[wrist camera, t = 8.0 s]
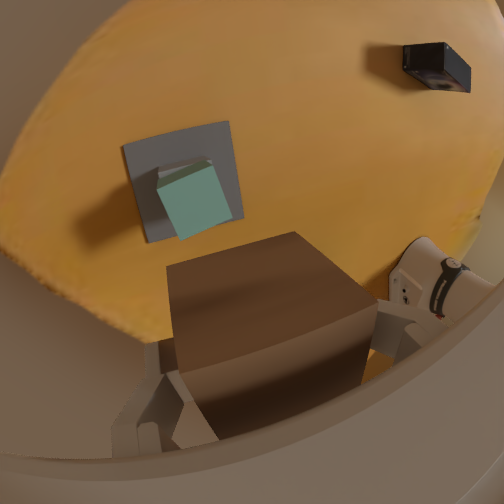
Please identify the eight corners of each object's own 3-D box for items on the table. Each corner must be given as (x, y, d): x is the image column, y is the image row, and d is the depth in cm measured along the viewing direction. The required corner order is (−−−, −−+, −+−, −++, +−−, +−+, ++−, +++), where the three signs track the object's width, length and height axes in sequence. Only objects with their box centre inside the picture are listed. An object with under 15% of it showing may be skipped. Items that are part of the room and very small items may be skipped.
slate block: (212, 198, 37) (220, 209, 31) (169, 209, 35) (170, 223, 30) (203, 155, 34) (211, 159, 29) (158, 166, 33) (157, 172, 27)
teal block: (221, 203, 31) (232, 217, 26) (177, 222, 30) (180, 240, 26) (204, 159, 28) (212, 165, 24) (157, 179, 28) (156, 189, 23)
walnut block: (300, 325, 13) (355, 401, 9) (200, 358, 12) (227, 452, 8) (294, 231, 11) (379, 301, 6) (166, 266, 10) (179, 373, 5)
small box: (401, 71, 36) (444, 70, 27) (402, 44, 34) (444, 39, 25) (432, 91, 40) (471, 94, 31) (433, 66, 37) (471, 66, 28)
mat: (243, 217, 40) (244, 218, 39) (149, 242, 37) (149, 243, 36) (227, 120, 33) (228, 120, 33) (123, 145, 30) (123, 145, 30)
